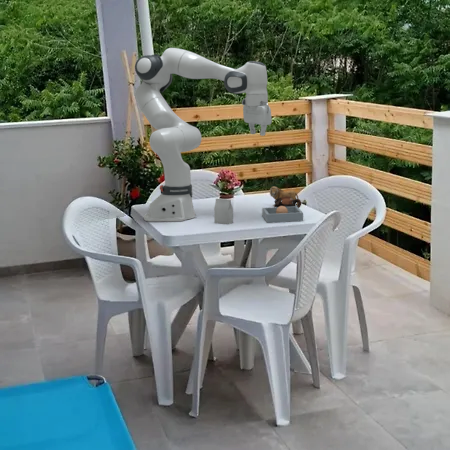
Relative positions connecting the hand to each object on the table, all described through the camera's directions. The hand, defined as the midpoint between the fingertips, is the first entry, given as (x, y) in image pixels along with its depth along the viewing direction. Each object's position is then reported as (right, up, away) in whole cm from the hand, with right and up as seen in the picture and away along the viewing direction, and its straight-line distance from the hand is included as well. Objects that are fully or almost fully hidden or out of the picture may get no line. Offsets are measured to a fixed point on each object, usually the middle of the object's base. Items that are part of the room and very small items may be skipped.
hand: (257, 134), depth 325 cm
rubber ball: (+10, -35, +3) cm, 36 cm away
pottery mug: (+14, -33, +15) cm, 39 cm away
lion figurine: (+14, -29, +32) cm, 45 cm away
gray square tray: (+10, -35, +3) cm, 37 cm away
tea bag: (-14, -37, -2) cm, 40 cm away
